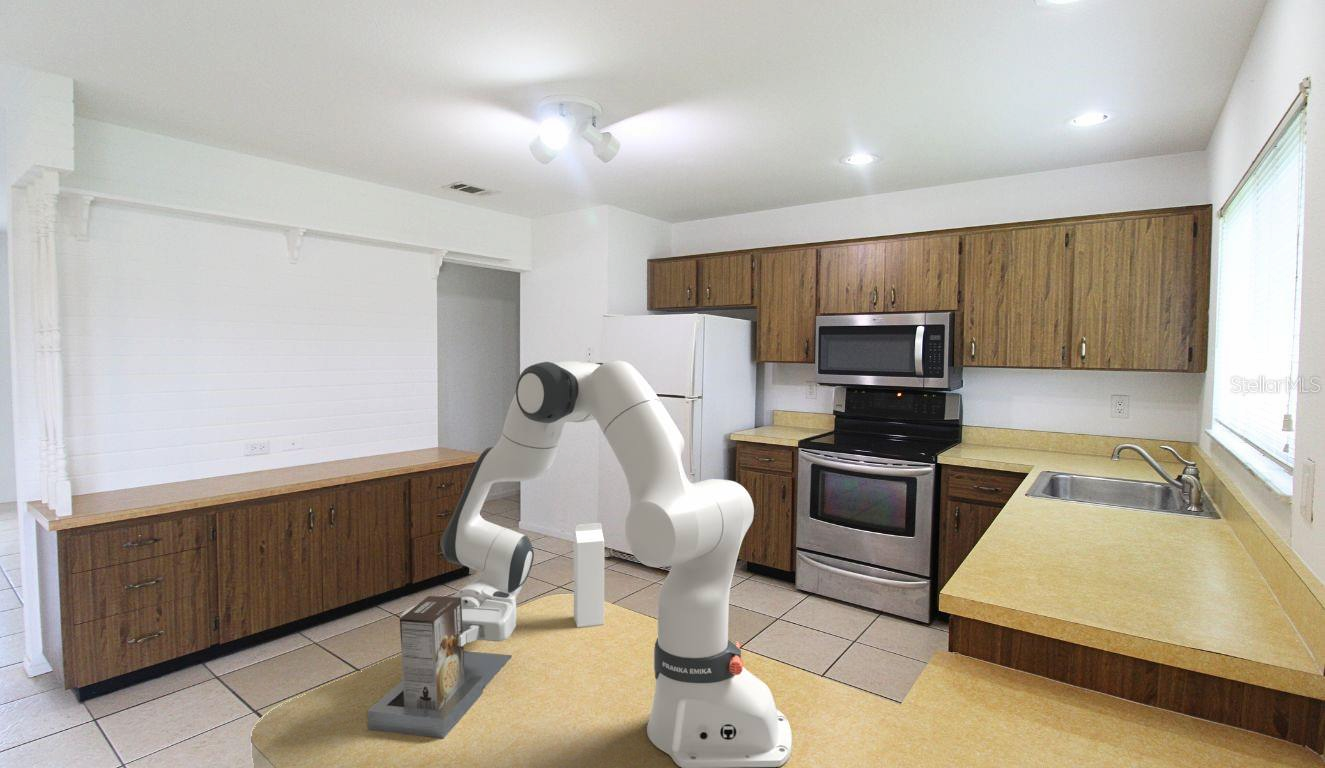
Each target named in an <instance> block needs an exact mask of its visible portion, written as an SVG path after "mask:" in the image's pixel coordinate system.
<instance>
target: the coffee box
mask: <svg viewBox="0 0 1325 768" xmlns="http://www.w3.org/2000/svg"><path fill="white" fill-rule="evenodd" d="M416 605H417V604H416ZM414 606H415V605H414ZM399 630H400V632H399V634H400V648H401V649H400V650H401V668H402V670H401V671H402V680H403V690H404V707H406V708H416V709H426V710H435V711H439V710H440V709H441V708H442V707H443V706H444V704H445V703H446V702H447V701H448V700H449V699H450V698H451V697H452V696H453V695H454V694H455V693H456V692H457V691H458V690H459V689H460V688H461V687H462V686H463V684H464V683H465V674H464V651H465V650H464V645H463V646H462V647H461V646H454V645H453V643H454V641H453V637H454V635H456V634H457V633H458V632H463V626H462V605H461V597H453V596H441V595H440V596H437V595H436V596H435V595H428V596H426V597H425V598H424V599H423V600H421V602H419V603H418V605H417V606H415V607H414V608H413V609H411V610H410V611H409V612H408V613H406V614H405V615H404V616H402V617H401V618H400V617H399Z"/></svg>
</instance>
